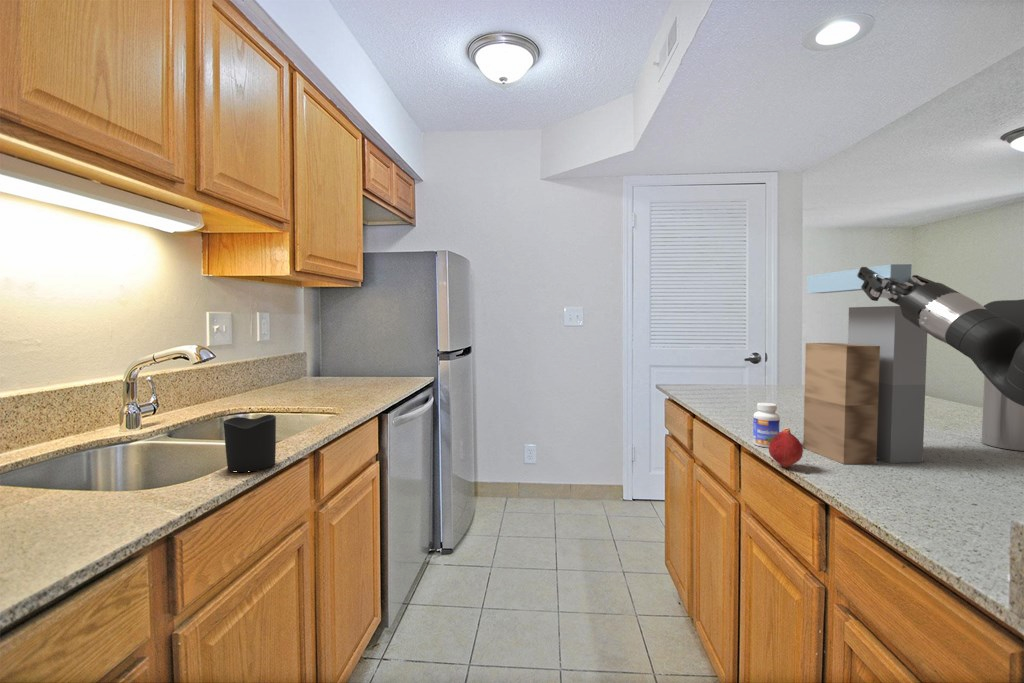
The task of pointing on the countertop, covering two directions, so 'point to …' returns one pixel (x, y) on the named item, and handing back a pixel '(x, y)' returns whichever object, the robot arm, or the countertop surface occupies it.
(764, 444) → the pill bottle
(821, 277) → the beam
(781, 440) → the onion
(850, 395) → the block
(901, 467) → the countertop surface
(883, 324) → the block
